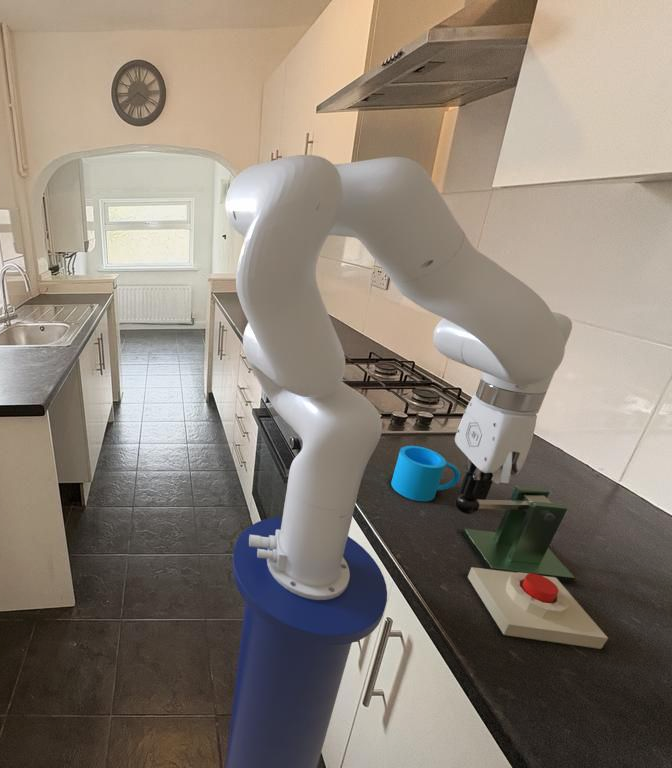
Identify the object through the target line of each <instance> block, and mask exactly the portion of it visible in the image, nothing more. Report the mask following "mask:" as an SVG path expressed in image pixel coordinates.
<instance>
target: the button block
mask: <svg viewBox="0 0 672 768" xmlns="http://www.w3.org/2000/svg"><path fill="white" fill-rule="evenodd" d="M528 574H529V573H521V572H517V573H515V572H506V571H498V570H490V569H487V568H481V567H472V566H471V567H470V570H469V572H468V575H467V579H468V581H469V582H470V583H471V585H472V587H473V588H474V590H475V592H476V593H477V595H478V596H479V598H480V599H481V601H482V603H483V604H484V606H485V608H486V609H487V611H488V612H489V614H490V616H491V617H492V619H493V620H494V622H495V624H496V626H497V627H498V628H499V630H500V632H501V633H502V634H503V636H509V637H515V638H523V639H530V640H536V641H543V642H545V641H546V642H551V643H558V644H565V645H571V646H578V647H586V648H592V649H599V650H600V649H602V648H604V646H605V644H606V642H607V641H608V639H609V637H608V636H607V635H606V634H605V632H603V630H602V629H601V628H600V627H599V625H598V624H597V623H596V622H595V621H594V620H593V618H591V616H590V615H589V614H588V613H587V612H586V610H584V608H583V607H582V606H581V605H580V604H579V602H578V601H577V600H576V598H574V597H573V596H572V594H571V592H569V590H567V588H566V587H565V586H564V585H563V584H562V582H560V581H558V579H557V578H555V577H547V576H543V577H545V578H547V579H549V580H550V581H552V582H553V583H554V584H555V585H556V586H557V588H558V594H557V596H556V597H555V599H554V601H553V602H552V603H543V602H541V601H539V600H536V599H534V598H532V597H531V596H530V595H528V594H527V593H526V592H525V591H524V590H523V588H522V583H523V581H524V579H525V577H526V575H528Z"/></svg>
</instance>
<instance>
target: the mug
mask: <svg viewBox="0 0 672 768" xmlns="http://www.w3.org/2000/svg"><path fill="white" fill-rule="evenodd" d="M445 467H447V468H450V469H451V470H452V471H453V473H454V474H453V477H452V479H451V480H449V481H448V482H446V483H444V484H440V483H441V479H442V477H443V473H444V471H445V470H444V469H445ZM460 479H461V472H460V470H459V468H458V467H457V466H456V465H454V464H453V463H451V462H449V461H447V460H446V459H445V458H444V457H443V456H442V454H440V453H439V452H437V451H435V450H433V449H430V448H427V447H423V446H419V445H418V446H417V445H406V446H403V447H400V450H399V453H398V457H397V460H396V464H395V468H394V471H393V475H392V479H391V482H390V484H391V487H392V488H393V490H394V491H395V492H397V493H398V494H399V495H401V496H402V497H404V498H407V499H409V500H412V501H418V502H429V501H432V500H434V499H435V497H436V494H437V492H438V491H444V490H448V489H450V488H453V487H454V486H455V485H457V484H458V483H459V481H460Z"/></svg>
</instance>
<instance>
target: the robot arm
mask: <svg viewBox="0 0 672 768" xmlns="http://www.w3.org/2000/svg"><path fill="white" fill-rule="evenodd" d="M224 202H225V203H224V205H225V206H224V207H225V214H226V217H227V218H226V219H227V220H228V222H229V224H230V226H231V227H232V228H233V230H234V231H236V232H237V233H238V234H239V235H241V236H243V237H244V240H243V243H242V246H241V250H240V253H239V256H238V262H237V265H236V273H235V287H236V294H237V297H238V301H239V303H240V306H241V309H242V311H243V313H244V316H245V317H246V321H247V323H246V326H245V329H244V332H243V336H242V347H243V348H242V349H243V352H244V356H245V359H246V360H247V363H248V365H249V367H250V369H251V370H252V372H253V374H254V376H255V377H256V379H257V382H258V383H259V385H260V386H261V387H260V388H262V390H263V391H264V394H265V396H266V397H267V399H268V401H269V403H270V404H271V406H272V407H273V409H274V410H275V411H276V413H277V415H279V416H280V417H281V419H282V420H283V421H284V422H285V423H286V424H288V425H289V426H290V428H291V429H293V430H294V432H295V433H296V434H297V436H299V437H300V439H301V441H302V447H301V450H300V452H299V453H298V454H297V455H296V456H295V457H294V458H293V460H292V462H291V464H290V467H289V473H288V476H287V477H288V479H287V486H286V493H285V499H284V506H283V511H282V517H283V518H282V524H281V530H278V529H276V533H275V536H273V535H269V537H261V536H258V535H249V547H255V548H260V547H261V548H268V550H264V549H257V558H264V559H266V558H267V566H268V568H269V571H270V572H271V574H272V576H273V577H274V578H275V579H276V581H277V582H278V583H279V584H281V585H282V586H283V587H284V588H285V589H287V590H289V591H290V592H292V593H294V594H296V595H298V596H301V597H304V598H308V599H313V600H328V599H333V598H335V597H337V596H339V595H340V594H342V593H343V592H344V591H345V589H346V588H347V586H348V582H349V577H350V572H349V567H348V565H347V562H346V561H345V559H344V557H343V554H344V550H345V546H346V542H347V537H348V536H349V533H350V530H351V524H352V520H353V516H354V512H355V509H356V503H357V499H358V494H359V490H360V487H361V483H362V479H363V476H364V473H365V471H366V468H367V465H368V463H369V461H370V459H371V457H372V455H373V453H374V452H375V450H376V447H377V446H378V444H379V442H380V440H381V436H382V433H383V422H382V418H381V414H380V413H379V411H378V410H377V408H376V407H375V405H374V404H373V403H372V402H371V401H370V400H369V399H368V398H367V397H365V395H363V394H361V393H360V392H359V391H357V390H356V389H354V388H353V387H351V386H350V385H348V384H346V383H345V382H344V381H343V379H344V377H345V373H346V366H347V365H346V356H345V352H344V348H343V346H342V342H341V341H340V339H339V336H338V333H337V332H336V330H335V327H334V324H333V322H332V320H331V317H330V315H329V312H328V311H327V308H326V306H325V303H324V301H323V298H322V294H321V292H320V289H319V286H318V282H317V275H316V274H317V273H316V272H317V264H318V260H319V256H320V254H321V252H322V250H323V247H324V245H325V243H326V241H327V239H328V237H329V236H337V237H345V238H346V237H347V238H354V239H357V240H358V241H359V242H360V243H361V244H362V245H363V246H364V248H365V249H366V251H368V253H369V254H370V255H371V256H372V258H373V259H374V260H375V261H376V262H377V264H378V265H379V267H380V268H381V269H382V270H383V272H384V273H385V274H386V275H387V277H388V278H389V280H390V281H391V282H392V284H393V285H394V287H396V289H397V290H398V291H399V293H400V294H401V295H402V296H403V297H405V298H407V299H408V300H409V301H411V302H413V303H414V304H415V305H417V306H419V307H421V308H422V309H424V310H426V311H428V312H430V313H432V314H434V315H436V316H438V317H441V318H442V319H440V320H439V322H438V323H437V325H436V326H435V328H434V330H433V333H432V342H433V344H434V347H435V349H437V351H438V352H439V354H441V355H443V356H444V357H446V358H447V359H450V360H452V361H453V362H457V363H460V364H462V365H464V366H467V367H469V368H472V369H476V370H477V371H480V372H482V374H481V377H480V380H479V383H478V385H477V386H478V387H477V389H476V391H475V393H474V394H473V395H472V397H471V398H470V400H469V402H468V404H467V406H466V408H465V410H464V413H463V415H462V417H461V420H460V422H459V424H458V427H457V430H456V433H455V436H454V442H455V445H456V446H457V447H458V449H460V451H461V452H462V453H463V454H464V455H465V457H467V458H466V462H465V471H466V472H465V474H464V476H463V480H462V483H461V486H460V488H459V492H460V494H461V495H462V494H463V496H464V497H465V498H468V499H477V500H487V497H488V494H489V492H490V489H491V487H492V484H493V483H495V484H497V485H501V486H508V485H509V484H510V478H511V476H517V475H518V474H519V473H520V472H521V470H522V468H523V466H524V465H525V463H526V460H527V457H528V455H529V451H530V448H531V446H532V441H533V439H534V434H535V430H536V426H537V425H536V424H537V419H538V415H537V414H539V412H540V410H541V408H542V405H543V402H544V400H545V398H546V396H547V393H548V390H549V388H550V385H551V382H552V380H553V378H554V375H555V373H556V371H557V370H558V368H560V365H561V364H562V361H563V359H564V356H565V352H566V351H565V350H566V346H567V343H568V341H569V338H570V335H571V332H572V330H573V322H572V320H571V318H570V317H568V316H567V315H565V314H562V313H559V312H556V311H552V310H551V308H550V307H549V305H548V304H547V303H546V301H545V300H544V299H543V298H542V297H541V296H540V295H539V294H538V293H536V291H534V289H532V288H531V287H529V286H528V285H527V284H526V283H525V282H523V281H521V280H520V279H518V278H517V277H516V276H514V275H513V274H512V273H510V272H509V271H507V270H506V269H505V268H503V267H502V266H501V265H499V264H498V263H497V262H495V261H494V260H493V259H491V258H489V256H487V255H485V254H484V253H481V252H480V251H479V250H477V248H475V247H474V245H473V244H472V243H471V241H470V240H469V239H468V237H467V234H466V233H465V231H464V230H463V228H462V226H461V225H460V223H459V222H458V220H457V218H456V217H455V215H454V213H453V212H452V211H451V208H450V207H449V206H448V204H447V203H446V201H445V199H444V198H443V196H442V194H441V192H440V191H439V189H438V188H437V186H436V185H435V183H434V181H433V180H432V178H431V177H430V175H429V174H428V172H427V170H425V168H424V167H423V166H422V165H421V164H420V163H419V162H417V161H415V160H413V159H411V158H409V157H404V156H385V157H379V158H371V159H366V160H358V161H353V162H344V163H335V164H334V163H333V162H331V161H330V160H328V159H326V158H325V157H322V156H320V155H315V154H297V155H290V156H286V157H281V158H278V159H277V158H276V159H274V160H270V161H265V162H260V163H257V164H252V165H251V166H249V167H247V168H244V169H243V170H242V171H241V172H240V173H238V175H236V176H235V178H234V179H233V180H232V182H231V183H230V185H229V187H228V189H227V193H226V195H225V201H224Z"/></svg>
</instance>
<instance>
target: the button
mask: <svg viewBox="0 0 672 768" xmlns="http://www.w3.org/2000/svg"><path fill="white" fill-rule="evenodd" d="M522 588H523V590H524V591H525V592H526V593H527V594H528V595H530V596H531V597H532V598H534V599H536V600H539V601H541V602H543V603H552V602H553V601H554V599H555V597H556V596H557V594H558V588H557V586H556V585H555V584H554V583H553V582H552V581H550V580H549V579H547V578H545V577H543V576H541V575H538V574H528V575H526V577H525V579H524V581H523V583H522Z"/></svg>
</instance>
